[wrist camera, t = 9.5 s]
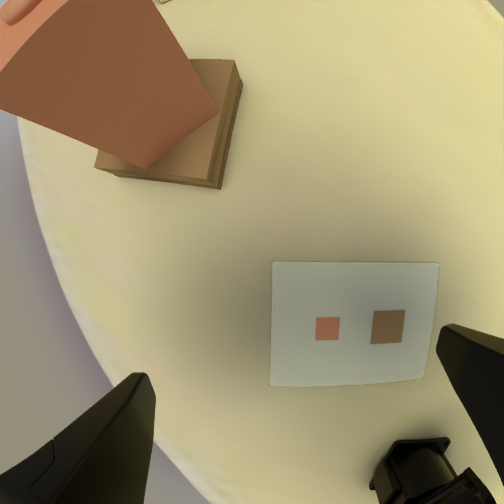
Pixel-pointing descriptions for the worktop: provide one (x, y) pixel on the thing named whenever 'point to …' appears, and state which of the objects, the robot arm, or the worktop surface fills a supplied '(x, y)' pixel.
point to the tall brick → (101, 75)
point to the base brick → (194, 136)
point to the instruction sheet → (350, 322)
